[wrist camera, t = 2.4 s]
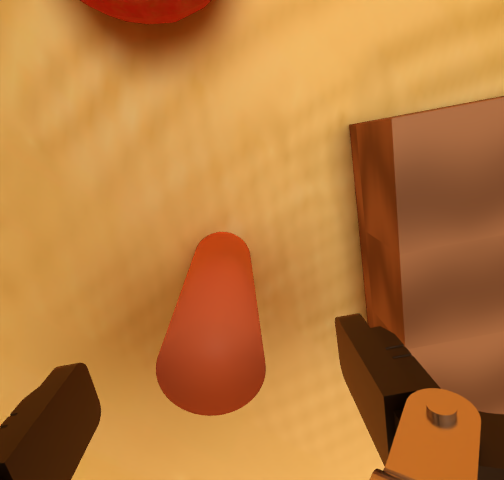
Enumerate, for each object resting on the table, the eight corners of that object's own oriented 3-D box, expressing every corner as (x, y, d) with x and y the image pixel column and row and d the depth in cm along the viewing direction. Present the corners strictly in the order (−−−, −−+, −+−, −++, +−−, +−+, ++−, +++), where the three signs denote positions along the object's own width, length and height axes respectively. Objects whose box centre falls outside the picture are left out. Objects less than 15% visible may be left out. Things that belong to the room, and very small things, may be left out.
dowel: (188, 237, 19) (143, 333, 10) (244, 227, 19) (255, 312, 10) (201, 289, 20) (171, 424, 10) (254, 279, 20) (273, 405, 10)
